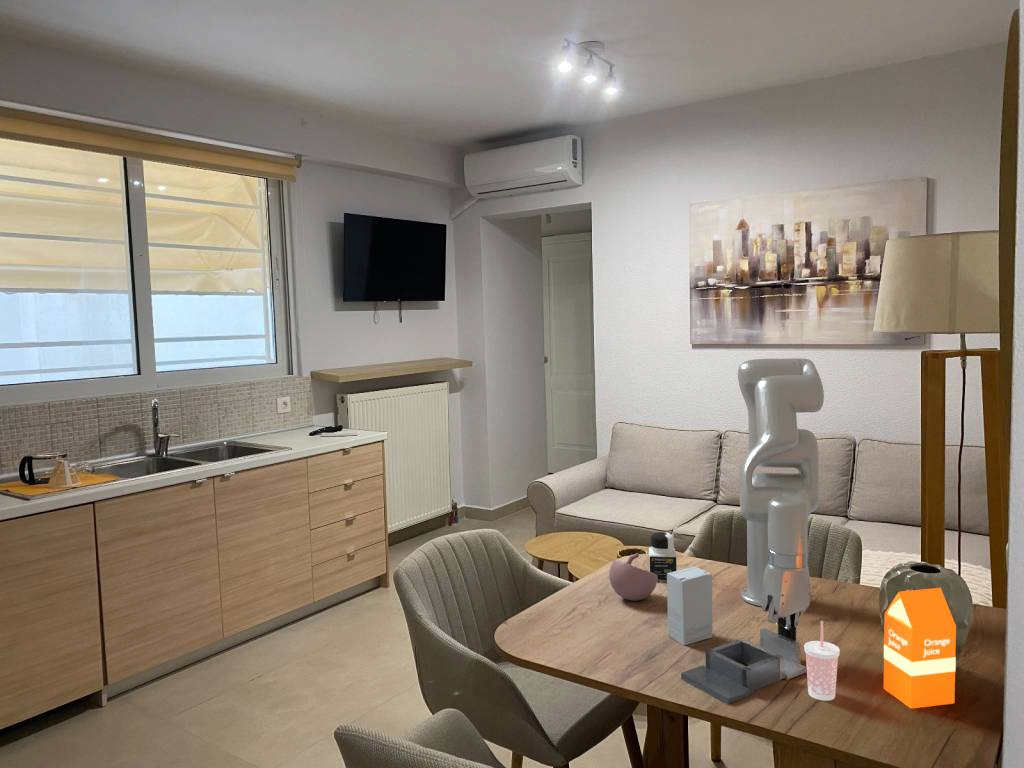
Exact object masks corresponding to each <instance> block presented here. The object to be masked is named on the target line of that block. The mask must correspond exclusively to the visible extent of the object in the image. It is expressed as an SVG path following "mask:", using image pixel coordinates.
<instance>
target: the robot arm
mask: <svg viewBox="0 0 1024 768" xmlns="http://www.w3.org/2000/svg"><path fill="white" fill-rule="evenodd" d="M737 379H738V380H737V381H738V385H739V386H738V387H739V389H740V392H741V395H742V397H743V400H744V403H745V405H746V408H747V415H748V416H747V417H748V453H747V455H746V456H745V457H744V459H743V461H742V463H741V467H740V469H739V475H738V492H739V496H738V497H739V508H740V513H741V515H742V516H743V518H744V519H745V520H746V535H747V536H746V537H747V539H746V543H747V544H746V547H747V548H746V551H747V554H746V555H747V559H746V560H747V561H746V563H747V567H746V570H747V573H746V575H747V576H746V577H747V578H746V579H747V581H746V583H747V585H746V586H747V587H744V588H743V589H741V591H740V597H741V599H742V600H744V602H746V603H748V604H751V605H754V606H759V607H761V610H762V612H764V613H767V612H768V613H767V620H766V621H767V622H769V623H771V624H775V625H776V626H777V634H780V635H782V636H784V637H787V638H789V639H792V640H794V641H796V642H797V627H798V625H799V622H800V621H799V620H800V617H801V615H802V614H803V613H805V612H806V611H807V609H808V608H809V606H810V604H811V577H810V571H809V570H810V569H809V564H808V545H809V544H808V538H809V537H808V534H809V533H808V531H809V529H808V528H809V527H808V526H809V523H808V522H809V516H810V517H811V514H812V513H813V512H815V511H816V510H817V508H818V507H819V501H820V473H819V472H820V466H819V463H820V462H819V457H820V456H819V445H818V441H817V438H816V436H815V434H814V433H813V432H812V431H810V430H809V429H804V428H798V421H797V419H798V418H797V413H799V414H800V413H817V412H820V411H821V410H822V408H823V406H824V402H825V401H824V400H825V391H824V387H823V386H824V385H823V382H822V378H821V376H820V373H819V372H818V369H817V367H816V365H815V363H814V362H813V361H812V360H811V359H809V358H794V357H793V358H757V359H756V358H755V359H754V358H753V359H748V360H746V361H744V362H741V364H740V365H739V366H738V369H737ZM757 467H760V468H775V469H776V468H780V469H781V468H782V469H784V468H785V469H786V468H788V469H796V470H797V473H795V472H794V473H791V472H789V473H785V472H783V473H782V472H757V473H754V471H755V469H756V468H757Z"/></svg>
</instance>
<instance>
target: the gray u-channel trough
mask: <svg viewBox="0 0 1024 768" xmlns="http://www.w3.org/2000/svg"><path fill="white" fill-rule="evenodd" d="M759 634H760V635H759V637H760V638H759V643H760V644H755V643H754V642H751V641H749V640H747V639H745V638H742V637H741V638H739V639H737V640H739V641H741V642H742V664H743V663H744V665H745V664H746V665H747V666H749V665H752V664H754V663H757V662H760V661H763V660H765V659H768V658H771V657H773V656H774V657H776V658H779V681H780V680H782V679H784V680H787V681H788V680H790V679H792V678H795V677H797V676H800V675H803V674H807V665H806V666H805V665H803V664H801V662H802V661H801V659H802V658H801V653H802V652H801V645H802V644H801V642H799V641H797V640H796V641H794V640H792V639H789V638H787V637H784V636H782V635H780V634H778V632H777V633H776V632H775V631H772V630H769V629H768V628H765V627H764V628H761V629H760V633H759Z"/></svg>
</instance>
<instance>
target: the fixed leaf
mask: <svg viewBox="0 0 1024 768" xmlns="http://www.w3.org/2000/svg"><path fill="white" fill-rule="evenodd" d="M680 677H681V680H682V681H685V682H686V683H688V684H689V685H692V686H693V687H695V688H696V689H699V690H701V691H702V692H704V693H706V694H708V695H710V697H711V696H712V697H714V699H717V700H719V701H721V702H722V703H724V704H726V705H730V704H732V703H735V702H738V701H740V700H743V699H745V698H748V697H750V696H751V693H753V692H756V691H758V690H760V689H762V688H765V687H767V686H771V685H772V684H773V685H774V684H776V683H778V682H779V681H780V680H779V658H776V657H774V656H773V657H771V658H768V659H765V660H763V661H760V662H757V663H754V664H752V665H747V666H746V665H745V664H744V665H743V662H742V642H741V641H739V640H738V639H736V640H733V641H730V642H727V643H724V644H721V645H718V646H716V647H713V648H709V649H707V650H705V665H703V664H701V665H699V666H696V667H695V668H692V669H688V670H685V671H683V672H681V674H680Z"/></svg>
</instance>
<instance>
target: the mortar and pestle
mask: <svg viewBox="0 0 1024 768" xmlns="http://www.w3.org/2000/svg"><path fill="white" fill-rule="evenodd" d="M639 556H640V554H639V552H638V553H637V552H635V554H630V555H629V557H628V559H627V560H626V562H623V561H621V560H616V559H614V560H613V561H612V563H611V565H610V568H609V572H608V573H609V574H608V575H609V578H608V579H609V583H610V585H611V587H612V589H613V591H614V592H615V593H616V594H617V595H619V596H620V597H621V598H623V599H625V600H628V601H632V602H633V601H635V602H637V601H641V600H644V599H646V598H648V597H649V596H650V595H651V594H652V593H653V592H654V590H655V589H656V586H657V584H658V581H657V580H658V576H657V575H656V574H654V573H652V572H650V571H649V570H645V569H642V568H640V567H637V566H636V565H632V563H633V562H634V560H635V559H638V558H639Z"/></svg>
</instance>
